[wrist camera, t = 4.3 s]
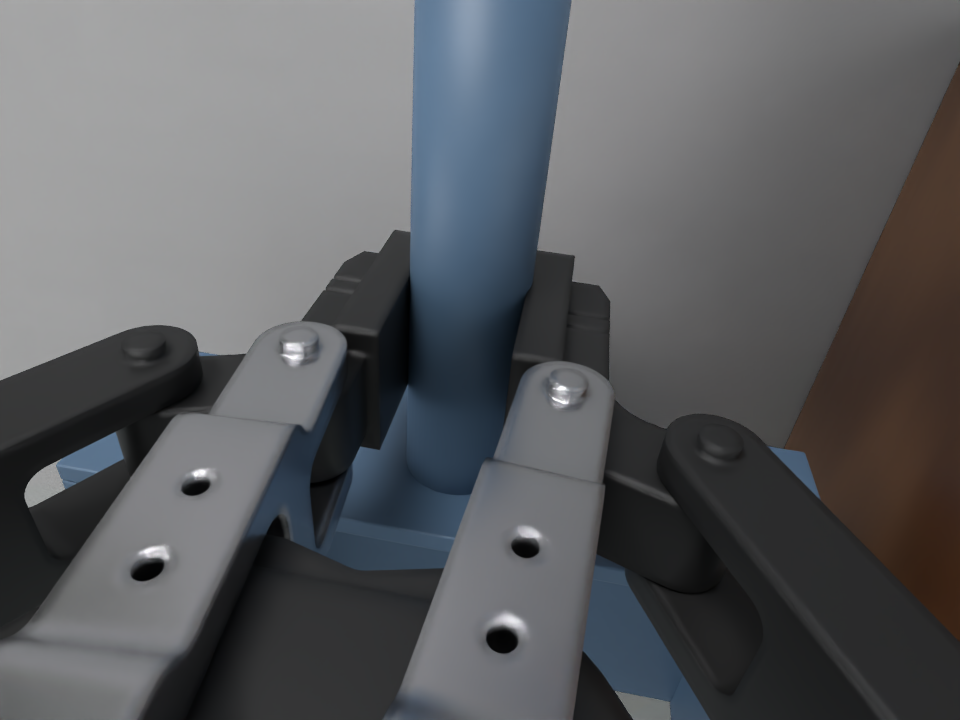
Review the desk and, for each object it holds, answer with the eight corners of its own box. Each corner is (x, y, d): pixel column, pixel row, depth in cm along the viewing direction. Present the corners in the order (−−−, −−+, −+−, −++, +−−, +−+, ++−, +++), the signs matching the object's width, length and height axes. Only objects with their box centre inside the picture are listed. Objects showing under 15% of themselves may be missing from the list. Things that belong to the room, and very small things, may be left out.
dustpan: (681, 692, 21) (695, 859, 17) (238, 603, 22) (164, 740, 18) (1069, -129, 9) (1374, -145, 5) (61, -215, 10) (-241, -275, 7)
